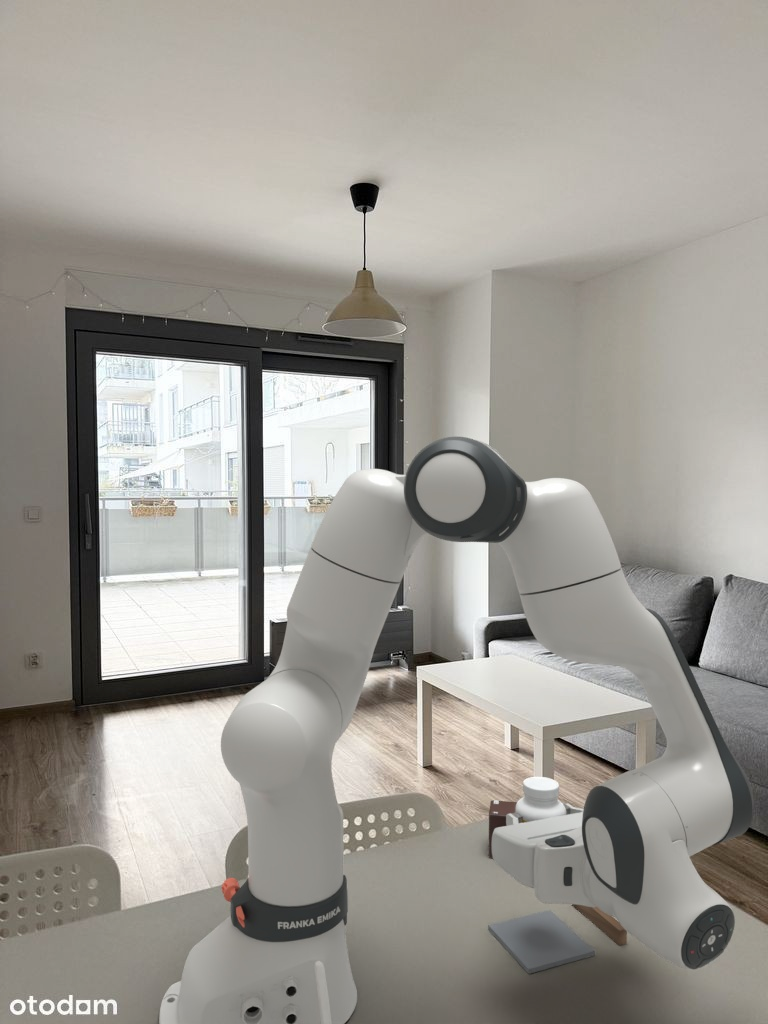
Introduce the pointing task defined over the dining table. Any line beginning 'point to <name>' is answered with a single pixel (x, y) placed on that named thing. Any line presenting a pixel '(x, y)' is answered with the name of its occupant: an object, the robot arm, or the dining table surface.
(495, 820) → the box
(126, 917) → the dining table surface
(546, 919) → the grey mat
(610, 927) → the walnut cradle
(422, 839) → the dining table surface
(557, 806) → the supplement bottle
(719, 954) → the robot arm
